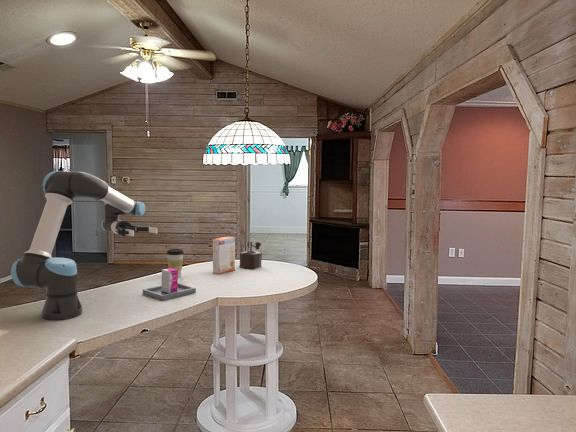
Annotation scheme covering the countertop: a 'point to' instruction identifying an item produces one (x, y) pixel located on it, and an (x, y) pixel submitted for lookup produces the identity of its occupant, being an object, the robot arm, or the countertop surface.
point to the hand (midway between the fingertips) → (145, 232)
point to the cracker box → (223, 255)
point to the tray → (181, 291)
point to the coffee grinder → (251, 257)
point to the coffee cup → (175, 259)
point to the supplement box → (169, 280)
